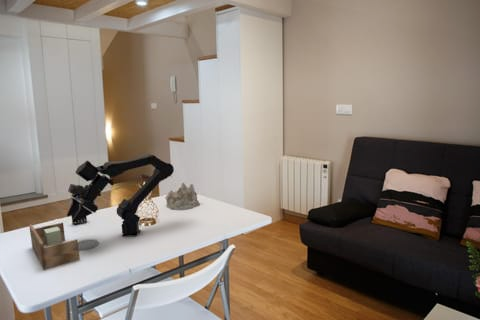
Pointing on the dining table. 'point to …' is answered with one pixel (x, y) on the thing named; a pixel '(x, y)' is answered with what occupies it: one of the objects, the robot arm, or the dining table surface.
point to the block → (52, 236)
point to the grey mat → (87, 244)
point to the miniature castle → (182, 198)
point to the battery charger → (78, 220)
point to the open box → (53, 248)
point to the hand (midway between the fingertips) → (70, 218)
